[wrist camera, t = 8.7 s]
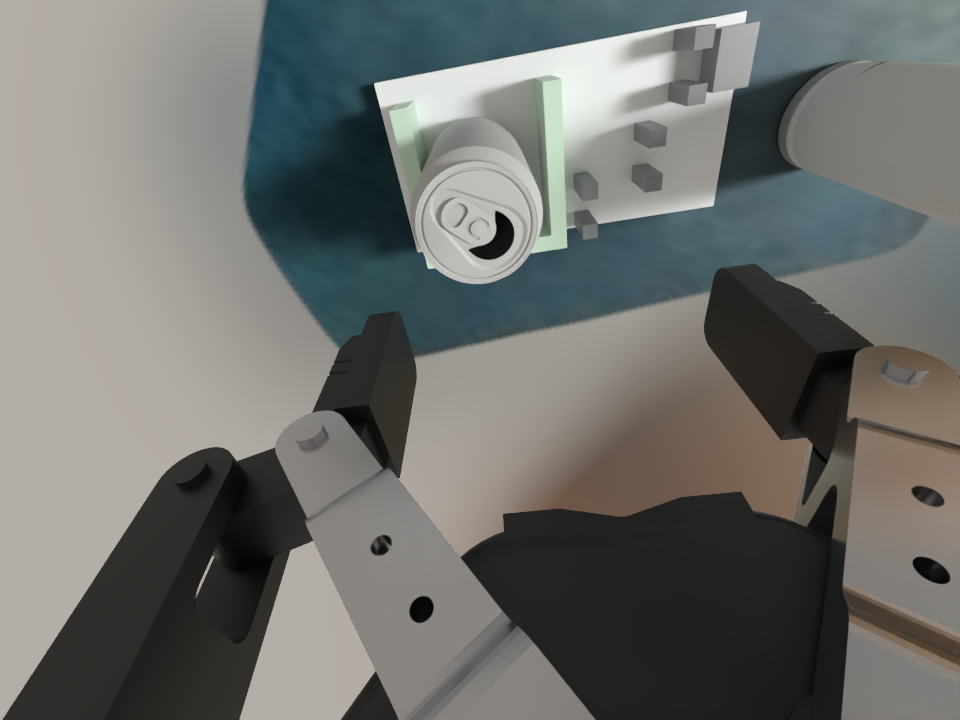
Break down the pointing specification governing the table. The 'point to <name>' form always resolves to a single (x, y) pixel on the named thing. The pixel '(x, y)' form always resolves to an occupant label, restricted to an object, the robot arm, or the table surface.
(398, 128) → the end holder
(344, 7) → the table surface
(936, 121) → the travel mug
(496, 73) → the board
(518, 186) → the beverage can
